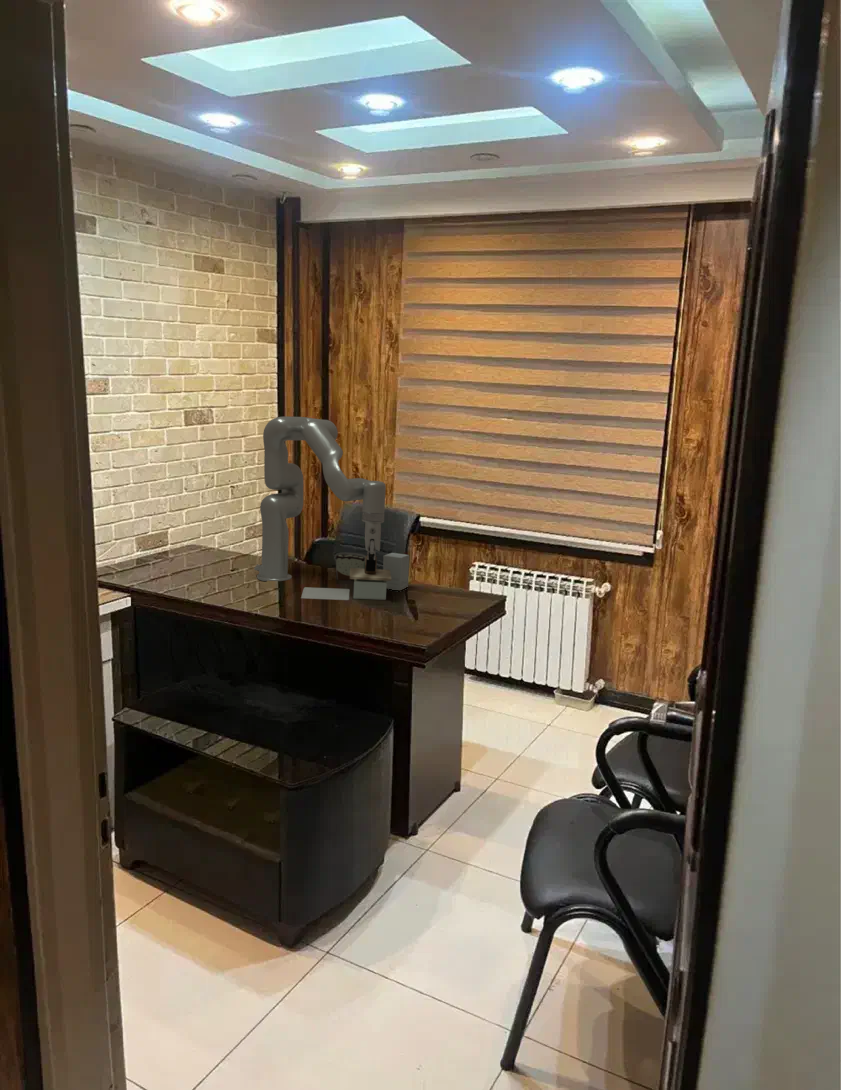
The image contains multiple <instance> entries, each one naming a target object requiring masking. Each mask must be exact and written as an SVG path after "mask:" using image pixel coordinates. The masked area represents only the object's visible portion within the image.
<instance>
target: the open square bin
mask: <svg viewBox="0 0 841 1090" xmlns="http://www.w3.org/2000/svg"><path fill="white" fill-rule="evenodd" d="M386 585H387V582H386V580H362V579H354V581H353V596H352V598H353V599H356V600H359V599H361V600H385V601H386V600H387V588H386Z"/></svg>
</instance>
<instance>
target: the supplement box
mask: <svg viewBox="0 0 841 1090" xmlns="http://www.w3.org/2000/svg"><path fill="white" fill-rule="evenodd" d="M382 557H383V561H382V562H383V563H382V564H383V565H382V569H383V570H390V574H391V581H386V582H387V585H386V590H387V589H388V590H389V589H392V590H402V589H404V588H406V587H409V573H410V572H409V570H410V555H409V554H404V553H399V552H398V553H397V552H390V553H387V554H385V555H383V556H382ZM392 590H391V591H392Z"/></svg>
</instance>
